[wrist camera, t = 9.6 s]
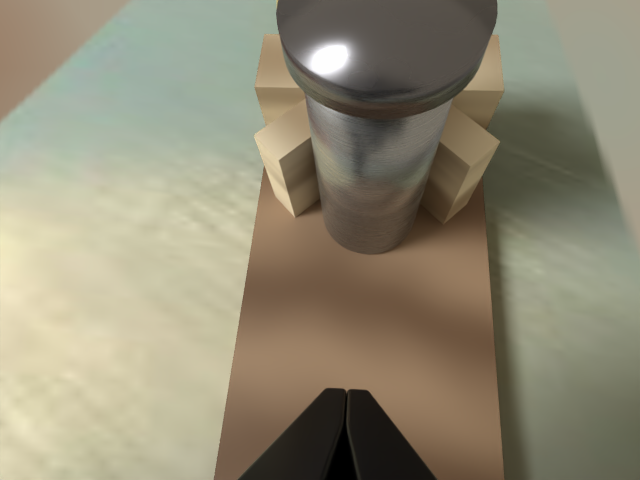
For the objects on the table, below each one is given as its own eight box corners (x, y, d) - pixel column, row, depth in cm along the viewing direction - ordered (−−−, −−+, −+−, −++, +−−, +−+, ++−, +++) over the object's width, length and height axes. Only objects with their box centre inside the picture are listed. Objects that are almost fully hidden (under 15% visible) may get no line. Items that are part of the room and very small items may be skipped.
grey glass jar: (424, 265, 19) (507, 90, 9) (309, 259, 19) (262, 87, 9) (422, 167, 21) (489, -69, 11) (319, 163, 21) (289, -64, 11)
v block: (475, 226, 20) (512, 167, 15) (265, 216, 21) (240, 159, 16) (467, 113, 22) (498, 34, 17) (282, 110, 23) (264, 34, 18)
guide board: (508, 663, 14) (519, 681, 13) (199, 618, 15) (189, 631, 14) (472, 120, 23) (477, 108, 22) (277, 116, 24) (273, 104, 23)
